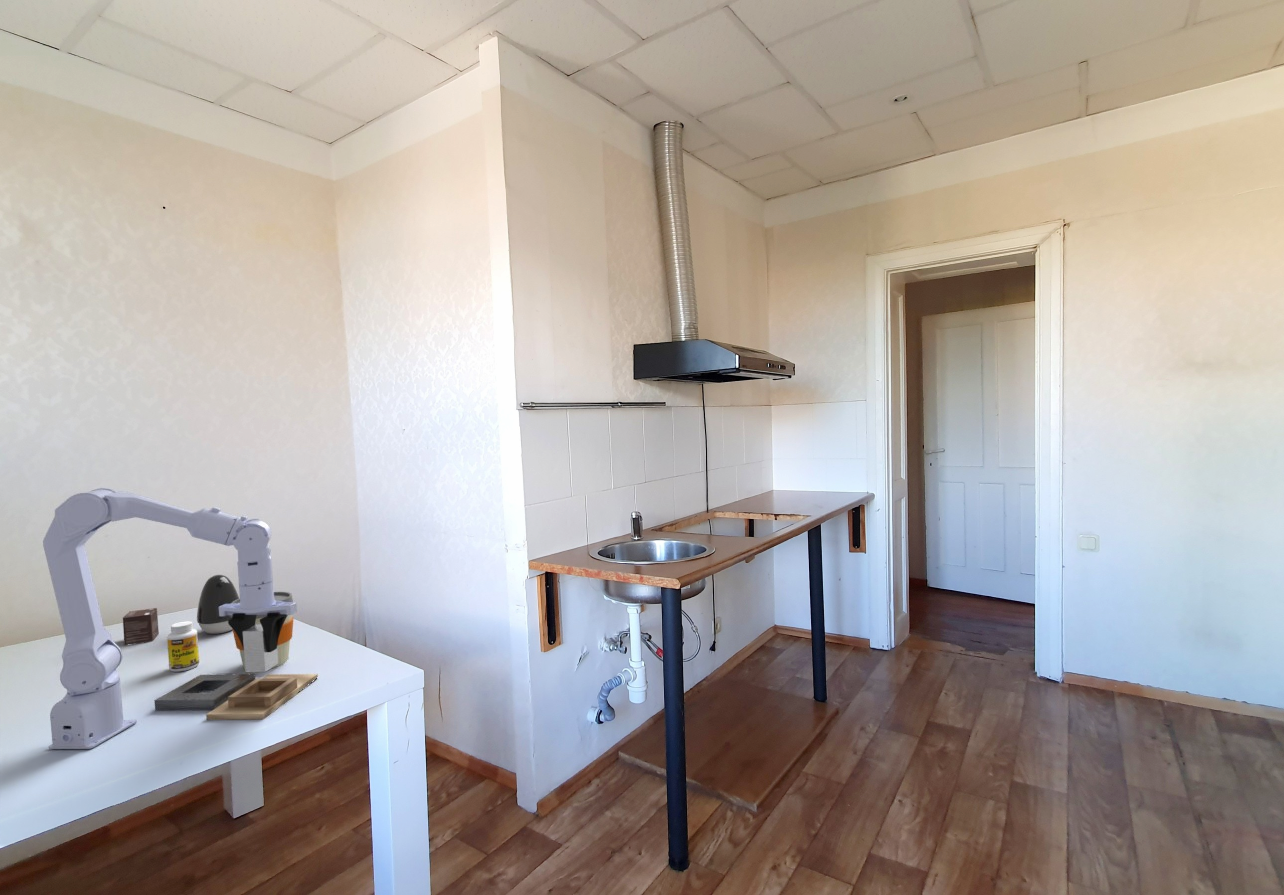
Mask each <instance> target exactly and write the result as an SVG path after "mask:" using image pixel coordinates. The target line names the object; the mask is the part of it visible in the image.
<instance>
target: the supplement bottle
mask: <svg viewBox="0 0 1284 895" xmlns="http://www.w3.org/2000/svg"><path fill="white" fill-rule="evenodd" d="M193 627H194V625H193V621H190V620H188V621H186V620H185V621H181V622H180V621H179V622H176V623H172V625H170V633H169V634H168V635H167V637H166V638H167V639H166V640H167V641H166V642H167V652H168V654H167V655H168V657H167V658H168V667H169V670H170V671H171V672H175V673H177V672H179V673H180V672H184V671H188V670H189V671H190V670H191V669H194V668H196V667H197V666H198V665H199V663H200V656H199V655H200V654H199V640H198V630H197V629H195V628H193Z"/></svg>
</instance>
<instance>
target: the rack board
mask: <svg viewBox="0 0 1284 895" xmlns="http://www.w3.org/2000/svg"><path fill="white" fill-rule="evenodd" d="M318 676H319V675H318V673H297V674H295V673H289V674H287V673H286V674H284V673H283V674H282V673H281V674H279V673H278V674H274V673H273V674H267V675H266V676H264V677H261V678H255V680H254V681H252V682H251V683H249V684H248V685H246V686H244V687H243V688H241V689H240V690H238V691H237V692H235V693H233V694H232V695H230V696H229V697H228V701H226V702H225V703H223V704H222V705H220V706H218V707H217V708H215V709H214V710H211V711H209V712H208V713H206V714H205V716H206V720H210V721H211V720H212V721H213V720H218V721H219V720H264V719H265V718H267V717H269V715H271V714H272V713H273V712H275V711H276V710H277V709H279V708H280V707H281V706H283V705H284V704H286V703H287V702H288V701H290V700H292V698H294V697H295V696H296V695H298V694H299V693H300V692H302V691H303V690H304V689H306V688H307V687H308V686H309V685H308V684H310V683H311V682H312V681H313V680H315V679H316V678H317V677H318ZM318 678H319V677H318ZM316 680H317V679H316ZM316 680H315V681H316ZM312 683H313V682H312ZM312 683H311V684H312ZM311 684H310V685H311ZM307 685H308V686H307ZM306 686H307V687H306ZM305 687H306V688H305ZM303 688H304V689H303ZM302 689H303V690H302ZM301 690H302V691H301ZM299 691H300V692H299ZM298 692H299V693H298ZM297 693H298V694H297Z"/></svg>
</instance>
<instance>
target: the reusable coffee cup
mask: <svg viewBox="0 0 1284 895" xmlns="http://www.w3.org/2000/svg"><path fill="white" fill-rule="evenodd" d="M274 599H275V601H282V602H294V599H293V595H292V593H291V592H289V591H274ZM233 603H240V598H239V599H237V600H235V601H233V602H232V603H231V604H233ZM266 616H267V614H262V615H257V616H256V621H255V625H259V624H261V623H260V619H262V618H264V617H266ZM230 617H231V618H232V617H233V615H230ZM293 628H294V617H293V614H292V615H288V616H287V618H286V619H285V621H284V624H283V626H282V629H281V631H280V635H279V639H278V644H277V651H278V664H277V665H275V666H274V667H272V668H270V669H275V668H277V667H280V666H282V665H284V664H286V663H287V662H288V661H289V658H290V656H289V655H290V647H291V646H290V645H291V644H290V642H291V640H292V638H293V632H294V630H293ZM232 634H233V638H234V641H235V645H236V647H235V648H236V649H238V650H239V655H240V658H241V664H242V667H243V670H245V658H244V649H243V647H242V644H241V642H240V640H239V638H238V636H237V634H236V633H235V631H234V630H233V629H232ZM287 660H288V661H287ZM286 661H287V662H286ZM285 662H286V663H285ZM283 663H284V664H283ZM279 665H280V666H279ZM276 666H277V667H276ZM270 669H269V670H270Z"/></svg>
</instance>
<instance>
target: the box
mask: <svg viewBox="0 0 1284 895" xmlns="http://www.w3.org/2000/svg"><path fill="white" fill-rule="evenodd" d="M158 619H159V618H158V608H157V607H153V608H148V609H147V608H146V609H140V610H132V611H128V612H127V613H126V614H125V615H124V616H123V617H122V628H123V642H124V643H123V644H124V646H129V645H128V644H132V645H135V644H134V643H137V644H142V642H144V643H151V642H153V641H154V640H155V639H156V637H158V635H159V633H160V632H159V620H158Z"/></svg>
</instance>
